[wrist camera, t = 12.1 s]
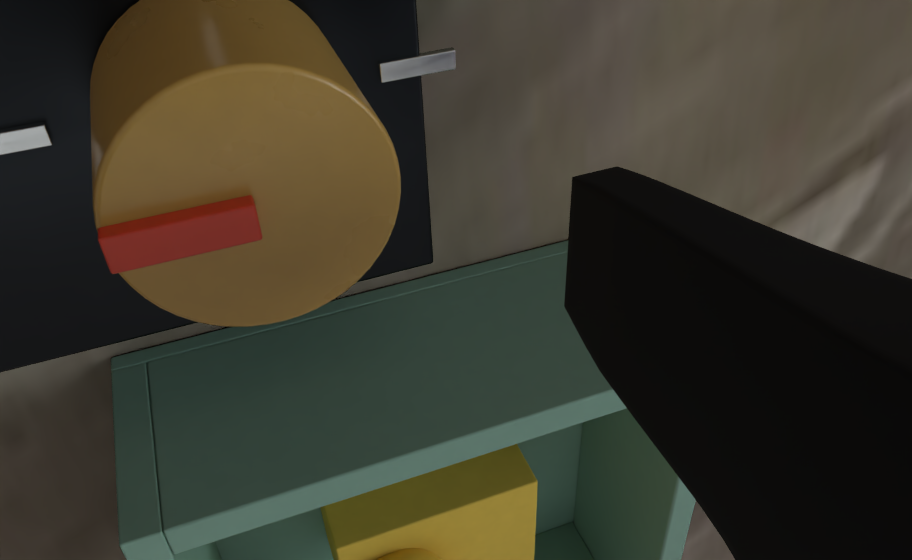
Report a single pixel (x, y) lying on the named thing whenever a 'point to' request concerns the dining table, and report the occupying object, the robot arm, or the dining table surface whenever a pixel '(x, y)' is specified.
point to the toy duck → (442, 514)
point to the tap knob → (235, 161)
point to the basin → (385, 421)
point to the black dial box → (70, 165)
